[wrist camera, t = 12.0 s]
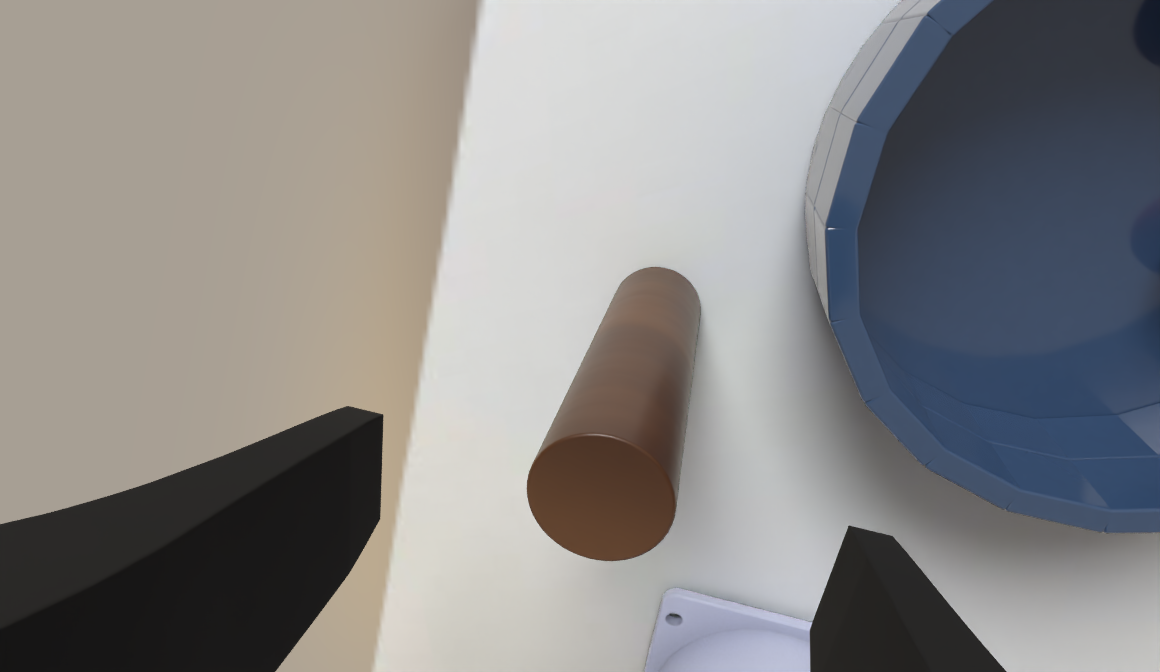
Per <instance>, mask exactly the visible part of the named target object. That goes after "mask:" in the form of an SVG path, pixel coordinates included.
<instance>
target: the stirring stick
mask: <svg viewBox="0 0 1160 672" xmlns="http://www.w3.org/2000/svg"><path fill="white" fill-rule="evenodd" d="M700 311H701V307H700V301H699V297H698V295H697V292H696V290H695V289H694V287H693V286H692V284H691V283H690V282H689V281H688V280H687V279H686V278H685V277H683V276H682V275H681V274H679V273H677V272H675V271H673V270H670V269H666V268H661V267H651V268H645V269H641V270H639V271H636V272H634V273H632V274H631V275H630V276H628V277H627V278H626V279H625V280H624V281H623V282H622V283H621V284H620V286H619V288H618V289H617V291H616V293H615V295H614V297H613V299H612V301H611V304H610V306H609V308H608V310H607V312H606V314H605V316H604V318H603V320H602V322H601V324H600V326H599V328H598V330H597V332H596V334H595V336H594V339H593V341H592V343H591V345H590V347H589V349H588V351H587V353H586V355H585V357H584V359H583V361H582V363H581V365H580V367H579V369H578V371H577V374H576V376H575V378H574V380H573V382H572V384H571V386H570V388H569V390H568V392H567V394H566V396H565V398H564V400H563V402H562V404H561V406H560V408H559V411H558V413H557V415H556V417H555V419H554V421H553V423H552V425H551V427H550V429H549V431H548V433H547V435H546V437H545V439H544V441H543V443H542V446H541V448H540V450H539V452H538V454H537V456H536V458H535V460H534V462H533V464H532V466H531V469H530V471H529V475H528V480H527V497H528V501H529V505H530V508H531V511H532V513H533V516H534V517H535V519H536V521H537V523H538V524H539V525H540V527H541V528H542V529H543V531H544V532H545V533H546V534H547V535H548V536H549V537H550V538H551V539H553V540H554V541H555V542H556V543H558V544H559V545H560V546H562V547H563V548H565V549H567V550H569V551H571V552H573V553H575V554H577V555H580V556H583V557H586V558H590V559H595V560H602V561H619V560H626V559H630V558H634V557H637V556H640V555H642V554H644V553H646V552H648V551H650V550H651V549H652V548H654V547H655V546H656V545H657V544H659V543H660V542H661V541H662V540H663V539H664V537H665V536H666V535H667V533H668V532H669V530H670V528H671V526H672V524H673V521H674V518H675V513H676V506H677V498H678V490H679V481H680V473H681V465H682V457H683V449H684V441H685V433H686V425H687V417H688V409H689V401H690V393H691V385H692V377H693V369H694V361H695V353H696V345H697V337H698V329H699V321H700Z"/></svg>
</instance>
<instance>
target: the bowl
mask: <svg viewBox="0 0 1160 672" xmlns="http://www.w3.org/2000/svg"><path fill="white" fill-rule="evenodd" d="M805 194H806V202H805V222H806V237H807V246H808V250H809V266H810V269H811V273H812V276H813V279H814V282H815V285H816V288H817V290H818V293H819V296H820V299H821V302H822V305H823V307H824V310H825V313H826V316H827V319H828V321H829V324H830V327H831V329H832V331H833V334H834V336H835V339H836V341H837V343H838V346H839V348H840V350H841V353H842V355H843V357H844V360H845V362H846V364H847V367H848V369H849V371H850V374H851V376H852V378H853V381H854V383H855V385H856V388H857V390H858V392H859V395H860V397H861V400H862V401H864V403H865V406H866V407H867V408H868V409H869V410H870V411H871V412H872V413H873V414H874V415H875V416H876V417H877V418H878V419H879V420H880V421H881V423H882V424H883V425H884V426H885V427H886V428H887V429H888V430H889V431H890V432H891V433H892V434H893V435H894V436H895V437H896V438H897V439H898V441H899V442H900V443H901V444H902V445H903V446H904V447H905V448H906V449H907V450H908V451H909V452H910V453H911V454H912V455H913V456H914V458H915V459H916V460H917V461H918V462H919V463H920V464H922V465H924V466H925V468H927V469H929V470H931V471H932V472H934V473H936V474H938V475H940V476H942V477H943V478H945V479H947V480H949V481H951V482H953V483H955V484H956V485H958V486H960V487H962V488H964V489H966V490H967V491H969V492H971V493H973V494H975V495H977V496H978V497H980V498H982V499H984V500H986V501H988V502H989V503H991V504H993V505H995V506H997V507H999V508H1000V509H1003V510H1006V511H1008V512H1012V513H1016V514H1021V515H1025V516H1029V517H1034V518H1038V519H1042V520H1047V521H1051V522H1055V523H1060V524H1064V525H1069V526H1073V527H1077V528H1082V529H1086V530H1090V531H1095V532H1099V533H1102V532H1104V533H1160V0H902V1H901V2H900V3H899V4H898V5H897V6H896V7H895V8H894V9H893V10H892V11H891V12H890V13H889V14H888V15H887V16H886V18H885V19H884V20H883V21H882V23H881V24H880V25H879V26H878V28H877V29H876V30H875V31H874V33H873V34H872V35H871V36H870V37H869V39H868V40H867V41H866V42H865V44H864V45H863V46H862V48H861V49H860V51H859V53H858V54H857V56H856V57H855V59H854V60H853V62H852V64H851V65H850V67H849V68H848V70H847V71H846V73H845V74H844V76H843V78H842V79H841V81H840V84H839V86H838V88H837V90H836V92H835V94H834V96H833V98H832V100H831V102H830V104H829V106H828V108H827V110H826V112H825V115H824V118H823V121H822V124H821V127H820V130H819V133H818V136H817V139H816V142H815V145H814V148H813V153H812V158H811V163H810V168H809V173H808V177H807V186H806V193H805Z"/></svg>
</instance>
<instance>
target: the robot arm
mask: <svg viewBox="0 0 1160 672" xmlns="http://www.w3.org/2000/svg"><path fill="white" fill-rule="evenodd" d="M382 441H383V414H378V413H375V412H370V411H366V410H362V409H358V408H354V407H349V406H347V407H344V408H340V409H337V410H335V411H332V412H329V413H327V414H324V415H321V416H319V417H316V418H314V419H311V420H309V421H307V422H304V423H302V424H299V425H297V426H294V427H292V428H290V429H287V430H285V431H283V432H280V433H278V434H276V435H273V436H271V437H268V438H266V439H263V440H261V441H258V442H256V443H254V444H251V445H248V446H246V447H244V448H241V449H239V450H236V451H234V452H231V453H229V454H226V455H224V456H221V457H219V458H216V459H213V460H210V461H208V462H205V463H202V464H200V465H197V466H194V467H191V468H189V469H186V470H183V471H181V472H178V473H175V474H173V475H170V476H167V477H164V478H162V479H159V480H156V481H154V482H151V483H148V484H145V485H142V486H139V487H136V488H133V489H129V490H126V491H123V492H120V493H117V494H114V495H110V496H107V497H104V498H100V499H97V500H93V501H90V502H87V503H83V504H79V505H76V506H73V507H69V508H66V509H62V510H58V511H54V512H51V513H47V514H43V515H39V516H34V517H30V518H25V519H21V520H17V521H13V522H8V523H4V524H0V672H275V671H276V670H277V669H278V667H279V666H280V665H281V663H282V662H283V661H284V659H285V658H286V657H287V655H288V654H289V653H290V652H291V650H292V649H293V647H294V646H295V645H296V644H297V642H298V641H299V640H300V638H301V637H302V636H303V634H304V633H305V632H306V630H307V629H308V628H309V627H310V625H311V624H312V623H313V621H314V620H315V618H316V617H317V616H318V615H319V613H320V612H321V611H322V609H323V608H324V607H325V605H326V604H327V602H328V601H329V600H330V599H331V597H332V596H333V595H334V593H335V592H336V591H337V589H338V588H339V587H340V585H341V584H342V582H343V581H344V580H345V578H346V577H347V576H348V574H349V573H350V571H351V569H352V568H353V566H354V564H355V562H356V561H357V559H358V558H359V556H360V554H361V552H362V551H363V549H364V547H365V545H366V544H367V541H368V540H369V538H370V536H371V534H372V533H373V531H374V529H375V527H376V525H377V524H378V522H379V520H380V507H381V474H382ZM671 613H676V614H678V615H680V616H679V617H673V616H671V615H669V614H671ZM644 672H1006V671H1005V669H1004V668H1003V667H1002V666H1001V665H1000V664H999V663H998V662H997V660H996V659H995V658H994V657H993V656H992V655H991V653H990V652H989V651H988V650H987V649H986V648H985V647H984V645H983V644H982V643H981V642H980V641H979V640H978V638H977V637H976V636H975V635H974V634H973V632H972V631H971V630H970V629H969V628H968V627H967V625H966V624H965V623H964V622H963V620H962V619H961V618H960V617H959V616H958V614H957V613H956V612H955V611H954V610H953V608H952V607H951V606H950V605H949V604H948V602H947V601H946V600H945V599H944V597H943V596H942V595H941V594H940V593H939V591H938V590H937V589H936V588H935V586H934V585H933V584H932V583H931V581H930V580H929V579H928V578H927V577H926V575H925V574H924V573H923V572H922V570H921V569H920V568H919V567H918V566H917V564H916V563H915V562H914V561H913V559H912V558H911V557H910V556H909V555H908V553H907V552H906V551H905V550H904V549H903V548H902V546H901V545H900V544H899V543H898V542H897V541H896V540H895V538H894V537H893V536H890V535H886V534H882V533H877V532H873V531H869V530H865V529H861V528H856V527H852V526H848V529H847V532H846V534H845V537H844V540H843V542H842V545H841V548H840V550H839V553H838V556H837V558H836V561H835V564H834V566H833V569H832V572H831V574H830V577H829V580H828V582H827V585H826V588H825V591H824V593H823V596H822V599H821V601H820V604H819V607H818V609H817V612H816V615H815V617H814V620H813V622H809V621H805V620H801V619H797V618H793V617H789V616H785V615H782V614H778V613H774V612H770V611H766V610H762V609H758V608H754V607H751V606H747V605H743V604H739V603H735V602H731V601H727V600H723V599H720V598H716V597H712V596H708V595H704V594H700V593H696V592H692V591H689V590H685V589H681V588H672V589H669V590H667V591H666V592H665V593H664V594H663V596H662V600H661V604H660V608H659V612H658V616H657V620H656V624H655V628H654V632H653V636H652V640H651V644H650V648H649V652H648V656H647V660H646V664H645V668H644Z"/></svg>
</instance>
